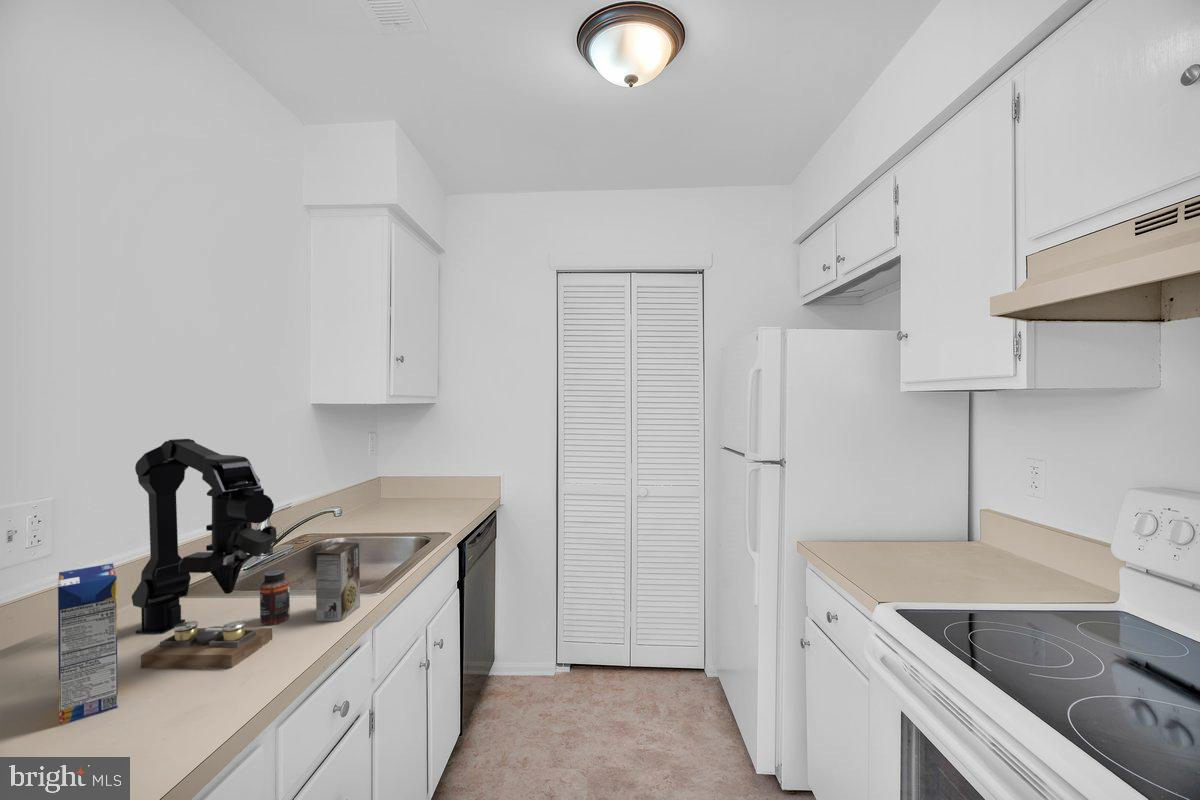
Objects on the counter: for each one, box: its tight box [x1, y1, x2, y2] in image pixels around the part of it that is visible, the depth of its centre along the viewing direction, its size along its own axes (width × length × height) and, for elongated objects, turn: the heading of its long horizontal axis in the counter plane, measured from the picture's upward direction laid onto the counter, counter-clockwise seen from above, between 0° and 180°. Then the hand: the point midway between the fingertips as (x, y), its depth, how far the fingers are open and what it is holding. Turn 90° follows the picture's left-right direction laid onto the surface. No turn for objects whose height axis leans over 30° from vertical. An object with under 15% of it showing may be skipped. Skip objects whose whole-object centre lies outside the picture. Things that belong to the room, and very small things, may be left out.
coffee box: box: [314, 541, 361, 622], centre depth 127 cm, size 9×6×16 cm
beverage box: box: [57, 563, 119, 726], centre depth 89 cm, size 7×11×22 cm, turn 45°
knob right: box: [221, 620, 246, 641], centre depth 107 cm, size 4×4×6 cm
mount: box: [140, 627, 274, 669], centre depth 107 cm, size 18×12×4 cm, turn 88°
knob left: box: [173, 620, 199, 641], centre depth 107 cm, size 4×4×6 cm
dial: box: [196, 625, 223, 645], centre depth 107 cm, size 5×4×2 cm
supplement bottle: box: [259, 569, 291, 626], centre depth 123 cm, size 6×6×11 cm
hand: (228, 593), depth 109 cm, fingers closed
